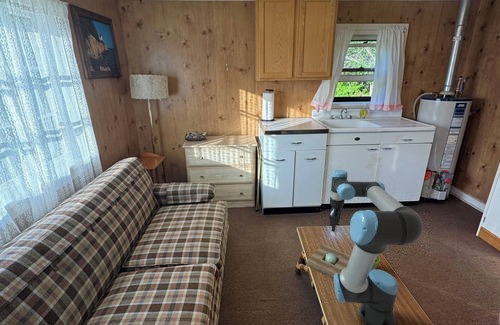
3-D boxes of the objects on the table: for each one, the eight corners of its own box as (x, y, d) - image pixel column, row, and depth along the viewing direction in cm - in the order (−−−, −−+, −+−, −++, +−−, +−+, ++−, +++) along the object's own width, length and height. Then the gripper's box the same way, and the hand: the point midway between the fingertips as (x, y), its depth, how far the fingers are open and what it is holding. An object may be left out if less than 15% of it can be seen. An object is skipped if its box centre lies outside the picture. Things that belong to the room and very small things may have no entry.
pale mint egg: (333, 268, 153) (333, 261, 152) (323, 263, 157) (324, 256, 156) (337, 263, 158) (338, 256, 156) (327, 258, 161) (328, 251, 160)
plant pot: (379, 276, 148) (382, 263, 145) (361, 274, 150) (363, 261, 147) (375, 265, 156) (377, 253, 154) (358, 263, 158) (360, 251, 155)
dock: (339, 282, 144) (340, 276, 143) (306, 265, 157) (307, 260, 155) (353, 262, 159) (354, 257, 157) (322, 249, 171) (322, 244, 170)
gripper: (339, 204, 136) (334, 243, 144) (348, 195, 146) (344, 232, 153) (325, 200, 141) (322, 237, 149) (335, 191, 150) (332, 228, 158)
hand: (333, 235), depth 151 cm, fingers closed
